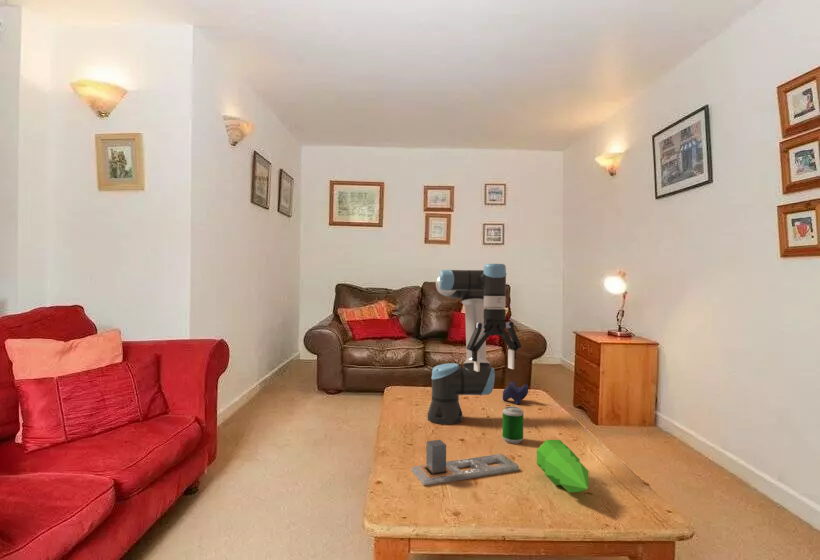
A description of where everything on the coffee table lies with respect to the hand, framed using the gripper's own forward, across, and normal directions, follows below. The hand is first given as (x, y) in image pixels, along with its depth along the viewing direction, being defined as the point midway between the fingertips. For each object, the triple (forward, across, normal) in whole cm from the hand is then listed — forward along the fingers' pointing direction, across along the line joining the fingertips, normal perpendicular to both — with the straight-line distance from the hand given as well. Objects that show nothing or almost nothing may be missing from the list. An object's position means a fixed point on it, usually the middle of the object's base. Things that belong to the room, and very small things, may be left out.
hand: (494, 369), depth 153 cm
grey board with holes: (+29, -16, -10) cm, 34 cm away
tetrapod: (+29, +44, +53) cm, 75 cm away
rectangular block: (+29, -26, -10) cm, 40 cm away
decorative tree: (+29, +6, -28) cm, 41 cm away
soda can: (+29, +13, +8) cm, 33 cm away
